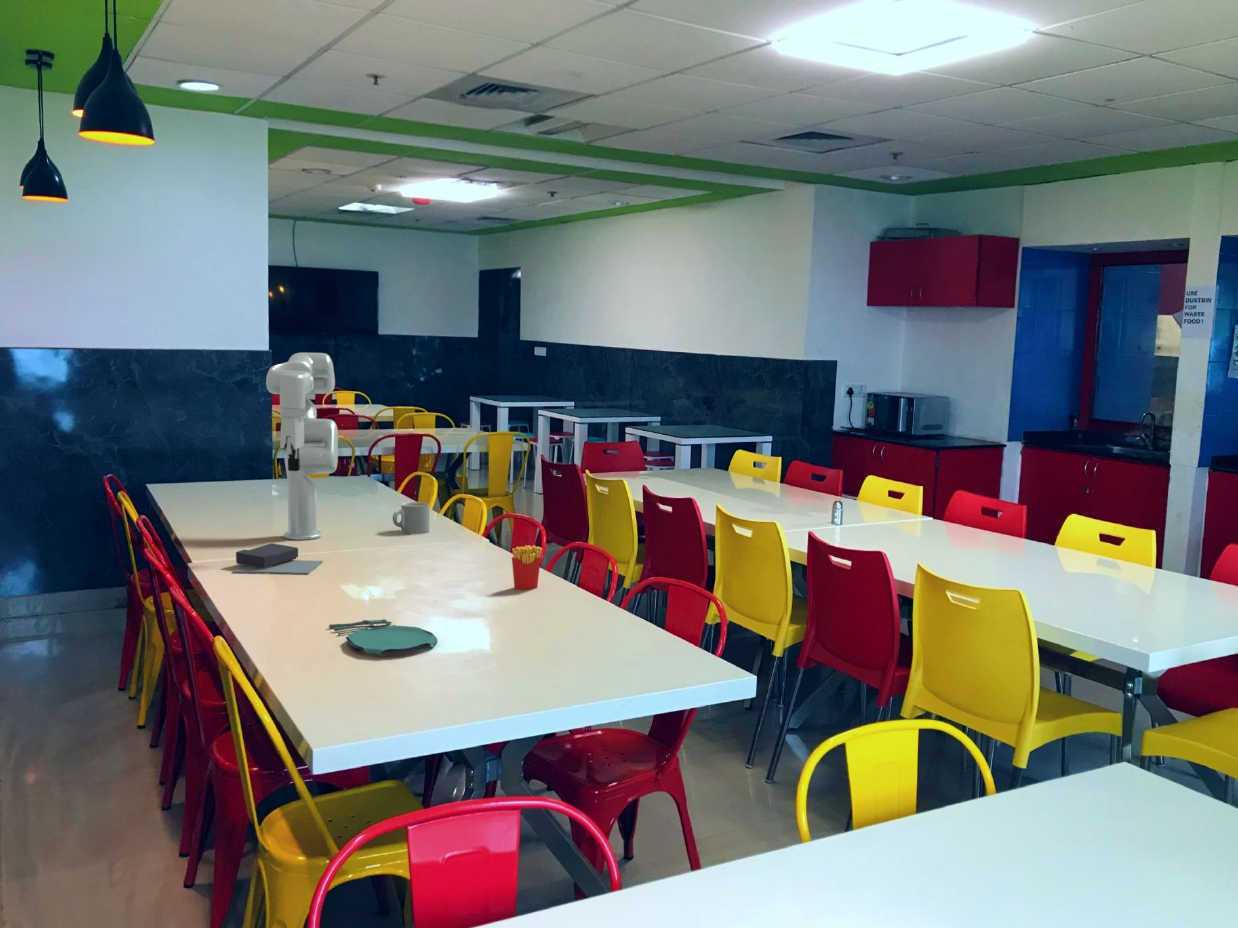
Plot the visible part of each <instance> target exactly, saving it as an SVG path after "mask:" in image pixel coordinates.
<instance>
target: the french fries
mask: <svg viewBox="0 0 1238 928" xmlns="http://www.w3.org/2000/svg"><path fill="white" fill-rule="evenodd" d="M542 553H543V548H542V547H540V546H536V545H534V544H533V545H532V546H531V545H530V544H529V545H524V546H516V547H515V548H512V555H513V556H512V557H511V564H512V574H513V576H512V577H513V588H514V589H515V590H521V591H522V590H535V589H537V588H538V584H539V576H540V565H541V555H542Z"/></svg>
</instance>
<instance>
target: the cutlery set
mask: <svg viewBox="0 0 1238 928" xmlns="http://www.w3.org/2000/svg"><path fill="white" fill-rule="evenodd" d="M392 623H393V621H389V620H387V619H385V618H384V619H383V618H382V619H371V620H369V619H362V620H361V621H356V622H352V623H351V622H350V623H336V624H335V623H334V624H333V623H332V624H328V628H329V629H330V630H331V628H332V629H333V631H334V632H338V631H343V630H350V629H356V630H350V631H343V632H338V635H337V636H340V635H347V634H348V635H347V636H345V639H346V643H347V644H348V645H349V646H350V647H352V648H354V649H356V650H360V651H365V652H366V654H369V655H371V654H373V655H378V656H379V655H381V654H382V653H383V654H384V653H385V654H386V653H391V654H393V653H404V652H409V651H415V650H419V649H422V648H424V647H425V648H426V647H427V646H429V645H431V646H432V648H435V647H436V646H437V644H438V637H437V636H436V635H435V634H433V632H432V631H428V630H427V629H423V628H421V627H417V626H408V625H396V624H395V625H390V624H392ZM362 624H363V625H362ZM374 624H376V625H374ZM353 625H354V626H353ZM345 626H348V627H345ZM383 626H384V627H383Z"/></svg>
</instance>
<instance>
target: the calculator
mask: <svg viewBox="0 0 1238 928" xmlns="http://www.w3.org/2000/svg"><path fill="white" fill-rule="evenodd" d="M298 557H299V547H296V546H289V545H284V544H279V543H278V544H277V543H268V544H264V545H261V546H258V547H255V548H252V549H241V550H238V551H235V561H236V564H238V565H239V566H242V565H244V566H250V567H255V568H261V569H265V568H268V567H271V566H276V565H279V564H282V563H285V562H288V561H291V560H297V558H298Z"/></svg>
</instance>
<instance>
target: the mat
mask: <svg viewBox="0 0 1238 928" xmlns="http://www.w3.org/2000/svg"><path fill="white" fill-rule="evenodd" d="M321 564H323V560H305V559H304V560H301V559H299V560H297V559H294V560H291V561H288V562H285V563H282V564H279V565H276V566H271V567H268V568H265V569H261V568H255V567H250V566H244V565H239V567H237V568H236V569H234V570H232V574H256V573H270V574H271V575H272V573H273V575H310V574H311V573H312V572H313V571H314V570H315V569H316V568H318V567H319V566H320V565H321ZM311 571H312V572H311ZM270 574H269V575H270Z"/></svg>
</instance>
